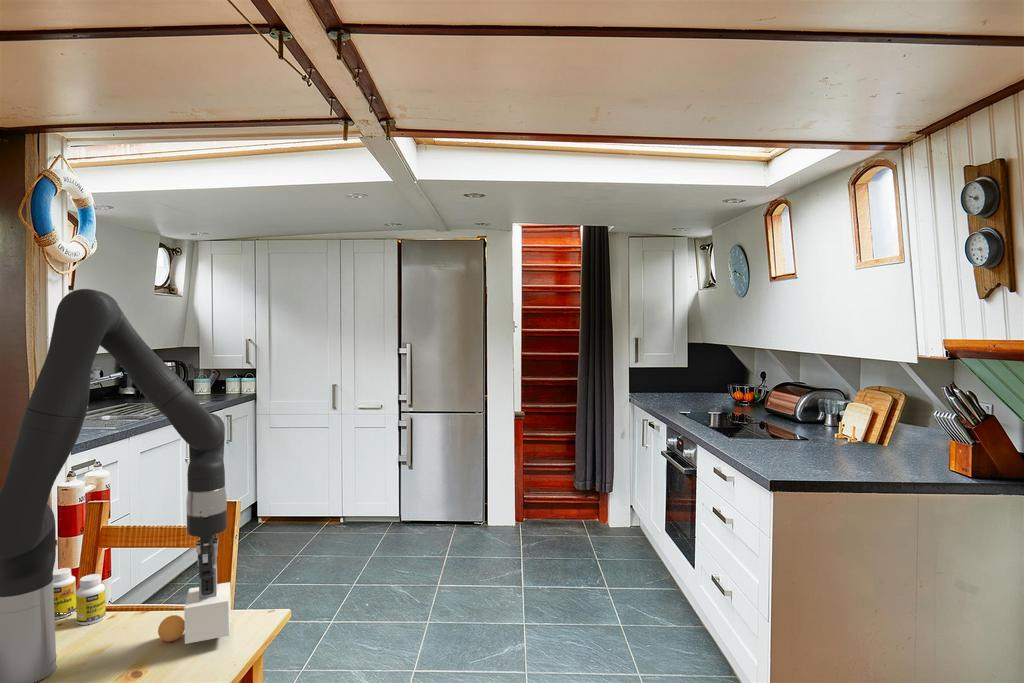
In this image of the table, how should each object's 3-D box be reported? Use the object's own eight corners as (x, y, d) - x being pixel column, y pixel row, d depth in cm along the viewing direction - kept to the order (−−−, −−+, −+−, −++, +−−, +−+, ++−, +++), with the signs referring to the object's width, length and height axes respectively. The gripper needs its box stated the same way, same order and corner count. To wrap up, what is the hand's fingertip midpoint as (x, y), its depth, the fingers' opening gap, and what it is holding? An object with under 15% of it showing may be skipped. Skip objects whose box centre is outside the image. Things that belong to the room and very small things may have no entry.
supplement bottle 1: (45, 623, 134) (43, 578, 134) (47, 613, 139) (46, 570, 139) (76, 616, 137) (74, 572, 137) (77, 606, 142) (75, 564, 142)
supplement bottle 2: (85, 628, 132) (84, 584, 132) (71, 623, 134) (69, 579, 134) (111, 616, 137) (109, 574, 136) (97, 612, 139) (95, 570, 139)
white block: (184, 643, 120) (183, 578, 120) (189, 621, 129) (188, 560, 129) (229, 635, 123) (227, 572, 123) (230, 614, 132) (229, 555, 132)
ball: (156, 648, 123) (155, 624, 123) (160, 637, 127) (159, 613, 127) (184, 643, 125) (183, 619, 125) (186, 631, 129) (186, 609, 129)
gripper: (190, 502, 130) (191, 580, 131) (182, 521, 117) (184, 608, 118) (228, 498, 133) (229, 574, 134) (225, 516, 120) (226, 601, 121)
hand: (208, 590), depth 126 cm, fingers closed on white block, 3 cm apart
